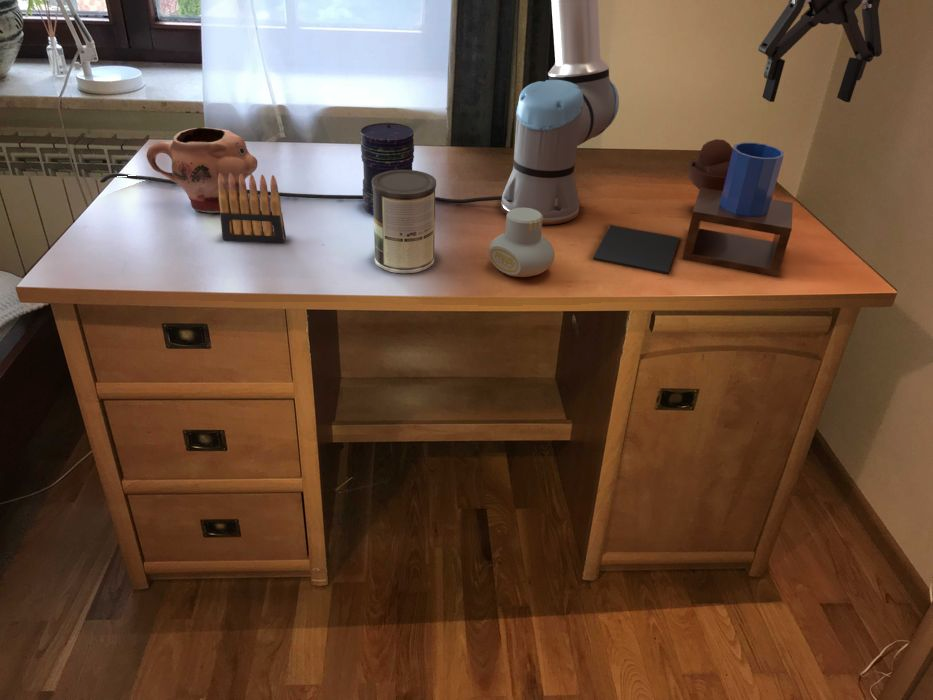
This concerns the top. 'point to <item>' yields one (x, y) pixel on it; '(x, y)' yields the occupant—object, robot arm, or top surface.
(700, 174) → the ice cream bowl
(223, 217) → the ammunition clip
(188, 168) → the decorative planter
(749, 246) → the shelf
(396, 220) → the coffee can
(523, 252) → the air freshener
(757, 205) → the cup
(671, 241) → the mat
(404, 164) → the storage jar
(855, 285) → the top surface
